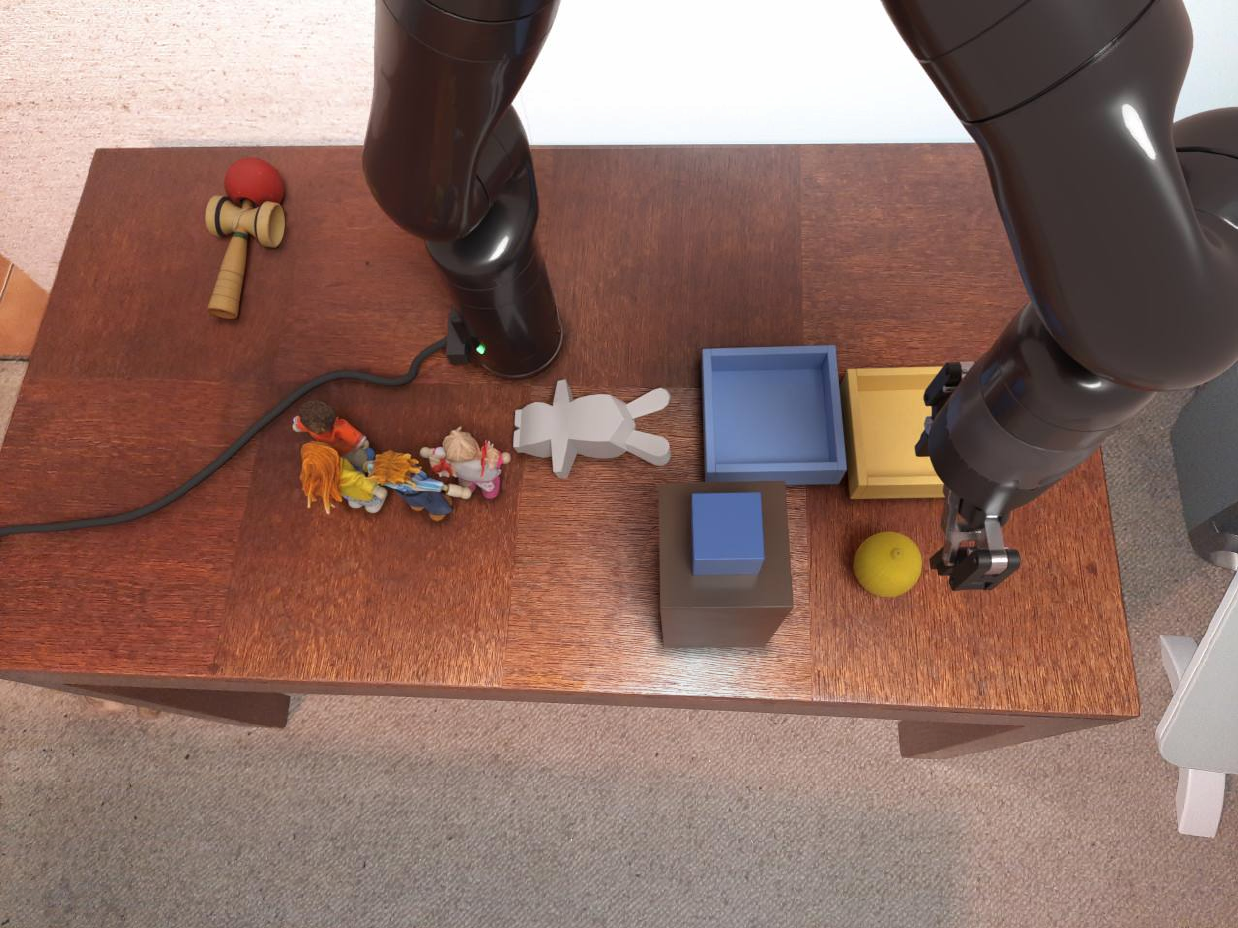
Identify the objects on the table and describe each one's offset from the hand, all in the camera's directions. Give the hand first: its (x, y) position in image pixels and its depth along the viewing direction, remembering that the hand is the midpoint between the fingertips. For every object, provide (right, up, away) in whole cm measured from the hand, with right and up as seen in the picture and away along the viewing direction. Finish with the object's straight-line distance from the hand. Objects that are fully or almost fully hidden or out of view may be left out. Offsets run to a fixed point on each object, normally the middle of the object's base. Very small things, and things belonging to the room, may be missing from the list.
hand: (936, 507), depth 62 cm
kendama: (-63, +27, +32) cm, 76 cm away
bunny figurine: (-26, +6, +22) cm, 34 cm away
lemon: (0, -7, +16) cm, 17 cm away
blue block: (-16, -2, -3) cm, 16 cm away
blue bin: (-9, +7, +21) cm, 24 cm away
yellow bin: (+4, +5, +20) cm, 21 cm away
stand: (-15, -9, +16) cm, 23 cm away
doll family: (-44, 0, +21) cm, 48 cm away
